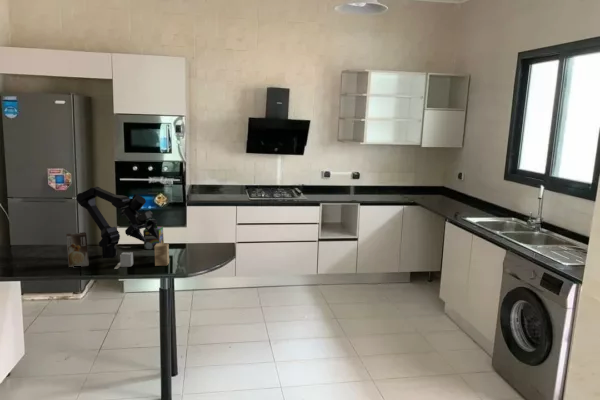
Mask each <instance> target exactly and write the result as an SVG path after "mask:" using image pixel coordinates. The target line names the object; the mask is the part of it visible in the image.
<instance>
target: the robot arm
mask: <svg viewBox="0 0 600 400" xmlns="http://www.w3.org/2000/svg"><path fill="white" fill-rule="evenodd" d="M96 198H100V199H102V200H105V201H107V202H109V203H111V205H112V206H113V207H115V208H116V209H119V210H120V209H122V210H121V211H120V216H121V217H123V216H125V217H126V219H128V224H129V226H128V227H127V228H126V229H125V230H124V233H125V235H126V236H127V237H128V236H129V237H132V238H135V239H136V240H139V241H141V242H143V243H144V242H146V240H145V238H144V235H143V233H142V232H141V229H142V230H143V229H145V228H146V229H147V230H148V232H149V233H150V234H152V235H153V236H154V237H155V238H158V235H157V231H156V225H157V226H158V219H156V218H153V216H154V214H153V212H152V211H151V210H147V211H145V212H143V213H139V211H140V210H141V209H142V208H143V207H144V205H145V204H146V202H147V199H146V198H145V197H143V196H142V195H139V194H138V193H136V194H134V195H132V197H131V198H130V197H129V196H127V195H120V194H115V193H112V192H111V191H108V190H106V189H103V188H101V187H99V186H93V187H90V188H89V189H87V190H85V191H81V192H79V193H77V194H76V198H75V200H76V202H77V203H78V204H79V206H80V207H82V208H84V209H86V210H87V212H88V213H89V215H90V217H91V218H92V219H93V221H94V222H95V225H96V226H97V227H98V229H99V230H100V237H101V240H100V241H99V242H98V246H99V247H100V248H101V249H102V251H101V252H102V256H101V259H115V257H117V255H118V247H117V245H119V241H120V239H121V235H120V231H119V230H118V229H117V227H116V226H110V224H109V223H108V221H107V220H106V218H105V217H104V215H103V214H102V212H101V211H100V209H99V208H98V206H97V204H96Z"/></svg>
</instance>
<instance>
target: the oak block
mask: <svg viewBox="0 0 600 400" xmlns="http://www.w3.org/2000/svg"><path fill="white" fill-rule="evenodd" d="M169 247H170V244H169V243H168V242H166V243H165V242H164V243H156V245H155V246H154V248H155V249H154V266H155V267H157V266H159V267H160V266H162V267H163V266H164V267H165V266H168V265H169V263H170V248H169Z"/></svg>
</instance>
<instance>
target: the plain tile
mask: <svg viewBox="0 0 600 400" xmlns="http://www.w3.org/2000/svg"><path fill="white" fill-rule="evenodd" d="M120 267H121V266H120V262H118V263H117V265H115V267H114V270H115V269H116V270H117V269H119V268H120Z"/></svg>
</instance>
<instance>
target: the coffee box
mask: <svg viewBox="0 0 600 400" xmlns="http://www.w3.org/2000/svg"><path fill="white" fill-rule="evenodd" d="M65 235H66V247H67V248H66V249H67V261H68V268H69V267H73V268H75V267H74V266H81V267H88V266H89V265H90V263H89V251H88V250H89V248H88V235H87V232H73V233H66V234H65Z"/></svg>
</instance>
